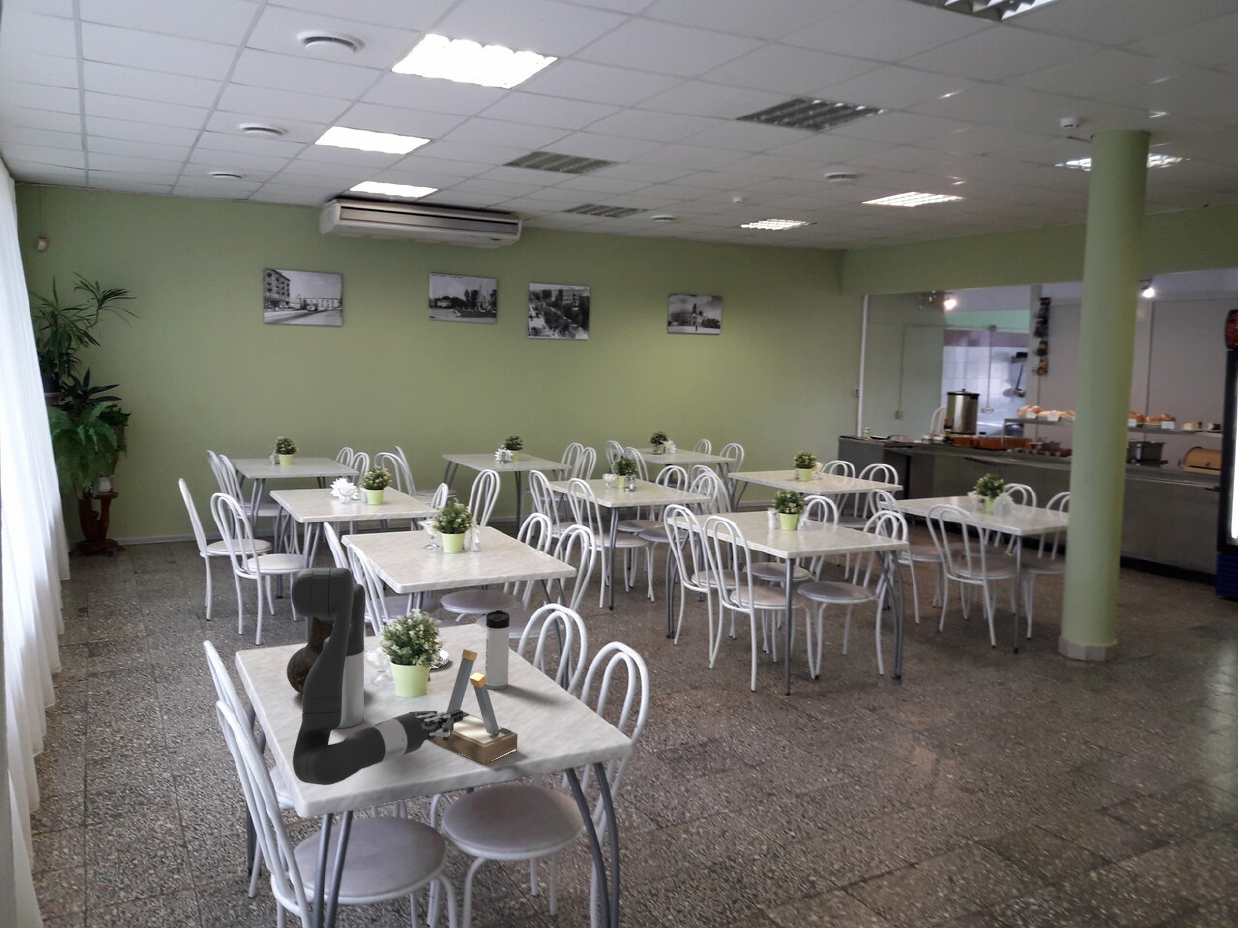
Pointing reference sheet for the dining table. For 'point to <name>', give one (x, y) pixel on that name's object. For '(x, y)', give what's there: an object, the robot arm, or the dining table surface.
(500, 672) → the travel mug
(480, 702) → the lever
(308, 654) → the brown vase
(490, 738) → the switch unit
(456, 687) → the lever
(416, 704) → the dining table surface
